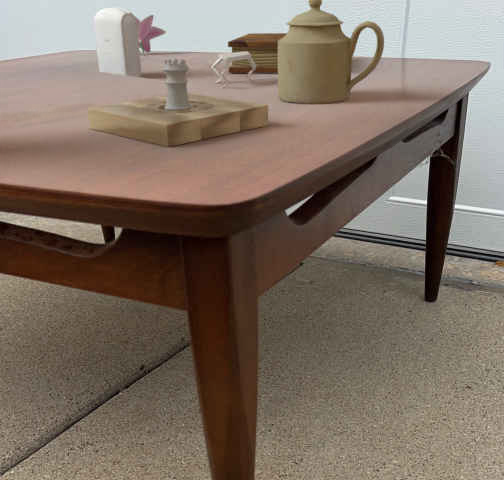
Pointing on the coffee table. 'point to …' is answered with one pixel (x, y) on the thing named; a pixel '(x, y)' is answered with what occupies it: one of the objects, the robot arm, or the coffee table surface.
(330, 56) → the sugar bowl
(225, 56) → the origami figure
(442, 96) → the coffee table surface
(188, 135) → the pad
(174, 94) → the rook chess piece
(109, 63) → the tombstone
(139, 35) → the lily
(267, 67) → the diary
